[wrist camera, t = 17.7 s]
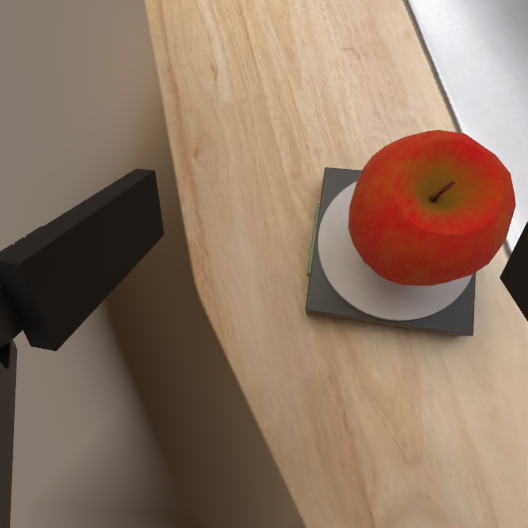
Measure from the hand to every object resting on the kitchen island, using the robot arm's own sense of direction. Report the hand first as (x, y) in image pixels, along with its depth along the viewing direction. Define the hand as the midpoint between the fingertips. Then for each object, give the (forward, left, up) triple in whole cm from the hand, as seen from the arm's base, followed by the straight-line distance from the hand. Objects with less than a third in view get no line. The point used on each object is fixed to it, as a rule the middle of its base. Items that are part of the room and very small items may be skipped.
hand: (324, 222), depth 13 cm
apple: (+6, +4, -14) cm, 16 cm away
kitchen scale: (+6, +4, -17) cm, 18 cm away
